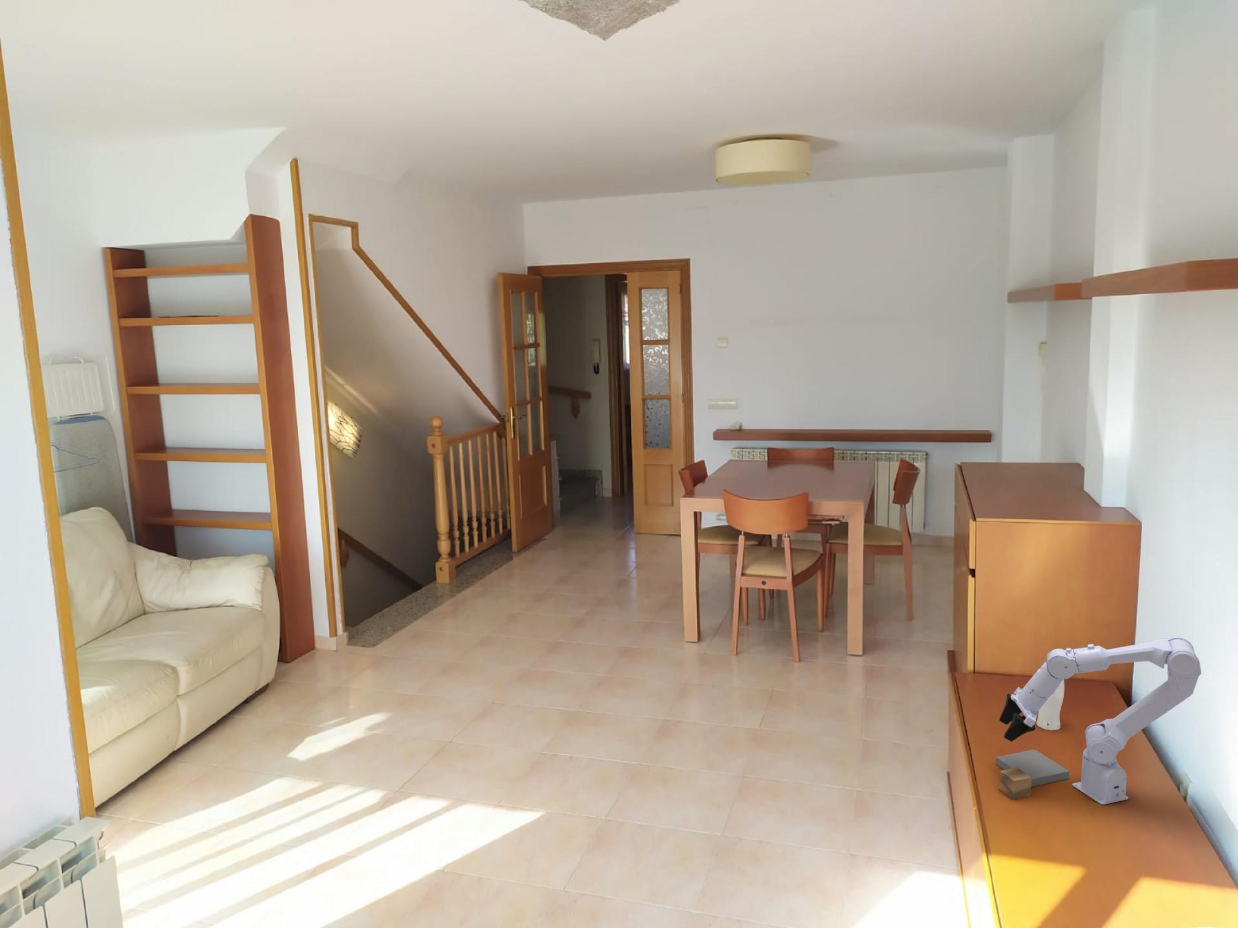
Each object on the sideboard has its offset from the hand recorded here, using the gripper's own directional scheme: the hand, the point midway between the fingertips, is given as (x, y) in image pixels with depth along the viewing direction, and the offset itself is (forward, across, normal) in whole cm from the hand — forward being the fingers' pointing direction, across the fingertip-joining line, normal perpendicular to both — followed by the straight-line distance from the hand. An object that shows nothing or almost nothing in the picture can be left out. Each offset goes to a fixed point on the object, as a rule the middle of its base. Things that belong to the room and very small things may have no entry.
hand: (1005, 730), depth 224 cm
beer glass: (+5, -29, +22) cm, 37 cm away
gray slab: (+8, -2, +13) cm, 15 cm away
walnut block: (+9, +10, +7) cm, 15 cm away
